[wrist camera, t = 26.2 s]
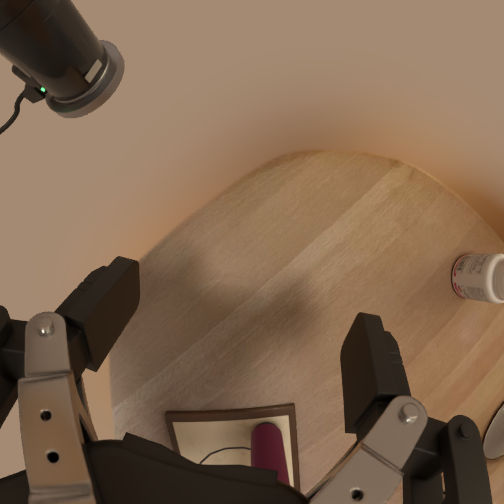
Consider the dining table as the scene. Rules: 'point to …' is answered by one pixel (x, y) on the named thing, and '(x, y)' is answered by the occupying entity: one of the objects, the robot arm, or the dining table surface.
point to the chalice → (495, 437)
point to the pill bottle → (480, 277)
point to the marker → (269, 450)
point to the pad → (231, 435)
